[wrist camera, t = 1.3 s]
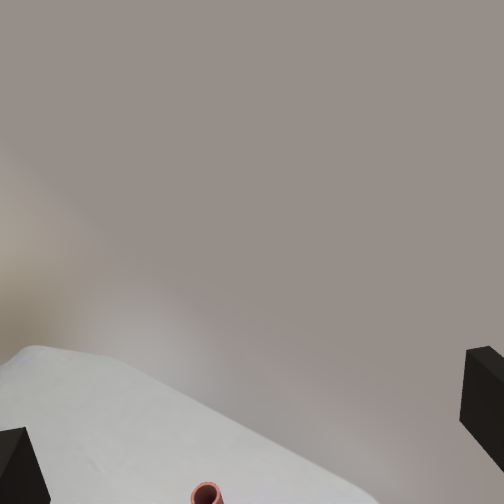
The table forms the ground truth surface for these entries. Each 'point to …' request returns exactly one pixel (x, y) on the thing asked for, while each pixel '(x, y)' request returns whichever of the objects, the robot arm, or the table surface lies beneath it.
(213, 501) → the pink vase
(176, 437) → the table surface
